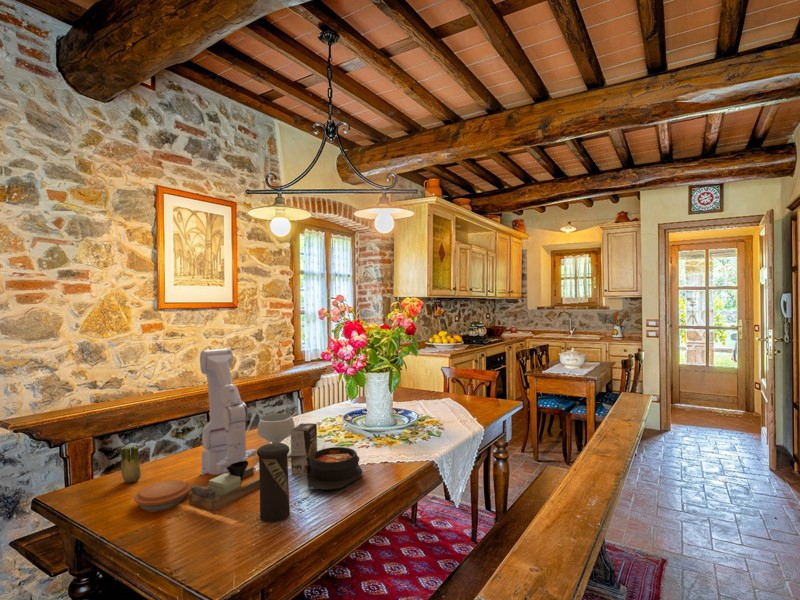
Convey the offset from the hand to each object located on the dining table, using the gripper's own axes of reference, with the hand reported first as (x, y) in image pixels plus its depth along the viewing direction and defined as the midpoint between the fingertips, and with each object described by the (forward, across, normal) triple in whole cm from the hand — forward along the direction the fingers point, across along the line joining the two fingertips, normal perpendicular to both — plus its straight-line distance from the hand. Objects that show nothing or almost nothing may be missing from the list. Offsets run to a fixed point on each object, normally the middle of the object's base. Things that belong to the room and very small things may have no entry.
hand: (237, 485), depth 142 cm
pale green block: (+1, -5, 0) cm, 5 cm away
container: (+2, -6, -22) cm, 23 cm away
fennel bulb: (+2, -10, +40) cm, 41 cm away
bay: (+2, -1, 0) cm, 2 cm away
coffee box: (+2, +22, -9) cm, 24 cm away
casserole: (+2, +22, -22) cm, 31 cm away
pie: (+3, -15, +15) cm, 22 cm away
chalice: (+2, +30, +12) cm, 32 cm away
